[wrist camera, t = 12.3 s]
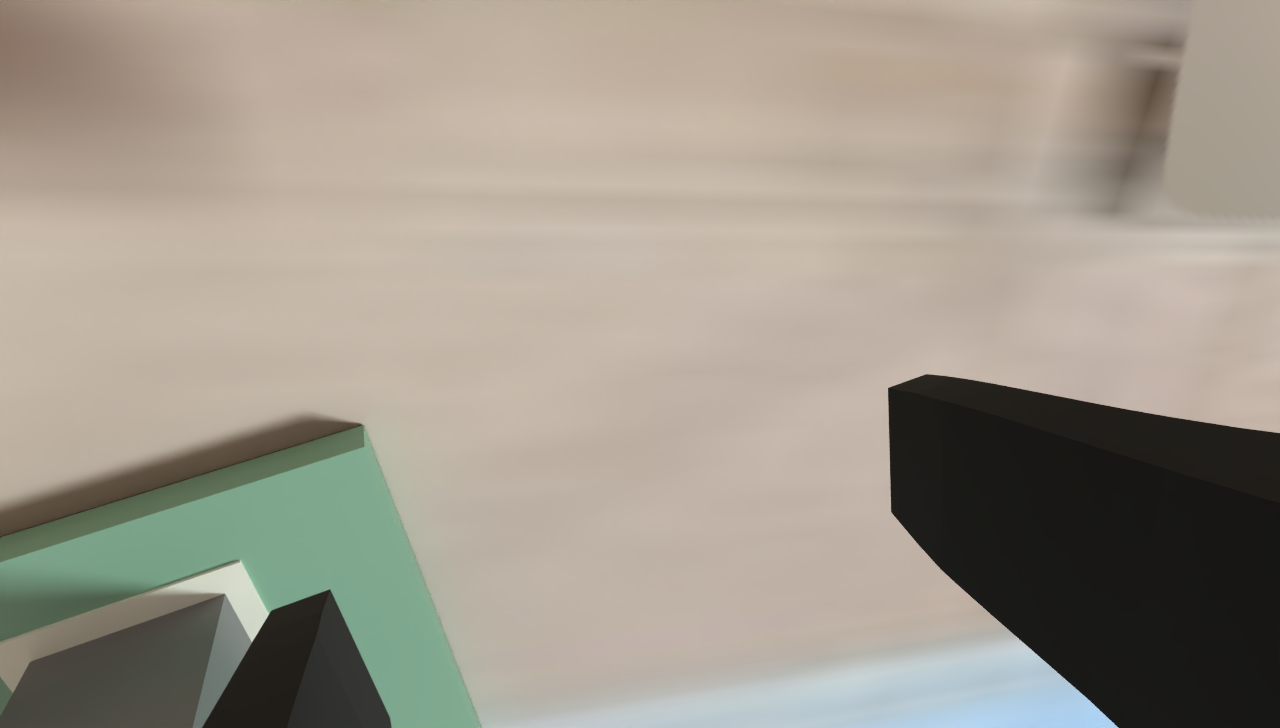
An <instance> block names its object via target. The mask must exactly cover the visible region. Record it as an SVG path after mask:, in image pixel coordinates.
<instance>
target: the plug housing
mask: <svg viewBox="0 0 1280 728" xmlns="http://www.w3.org/2000/svg"><path fill="white" fill-rule="evenodd" d="M251 643H252V642H251V640H250V638H249V636H248V634H247V633H246V631H245V629H244V627H243V625H242V623H241V622H240V620H239V618H238V616H237V614H236V612H235V611H234V609H233V607H232V605H231V603H230V602H229V600H228V598H227V596H226V594H223V595H220V596H217V597H214V598H211V599H209V600H206V601H203V602H200V603H197V604H194V605H191V606H188V607H186V608H183V609H180V610H177V611H174V612H171V613H168V614H166V615H163V616H160V617H157V618H154V619H151V620H148V621H146V622H143V623H140V624H137V625H134V626H131V627H128V628H125V629H123V630H120V631H117V632H114V633H111V634H108V635H105V636H103V637H100V638H97V639H94V640H91V641H88V642H85V643H83V644H80V645H77V646H74V647H71V648H68V649H65V650H62V651H60V652H57V653H54V654H51V655H48V656H45V657H42V658H40V659H37V660H34V661H31V662H30V663H29V665H28V666H27V668H26V670H25V672H24V674H23V676H22V677H21V679H20V681H19V683H18V685H17V687H16V688H15V690H14V692H13V694H12V696H11V698H10V699H9V701H8V703H7V705H6V707H5V709H4V710H3V712H2V714H1V716H0V728H202V727H203V725H204V723H205V722H206V720H207V718H208V717H209V715H210V713H211V711H212V710H213V708H214V706H215V705H216V703H217V701H218V700H219V698H220V696H221V694H222V693H223V691H224V689H225V688H226V686H227V684H228V683H229V681H230V679H231V677H232V676H233V674H234V672H235V671H236V669H237V667H238V665H239V664H240V662H241V660H242V659H243V657H244V655H245V653H246V652H247V650H248V648H249V647H250V645H251Z"/></svg>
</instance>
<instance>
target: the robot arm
mask: <svg viewBox="0 0 1280 728" xmlns="http://www.w3.org/2000/svg"><path fill="white" fill-rule="evenodd" d="M888 401H889V439H890V478H891V512H892V514H893V515H894V516H895V517H896V518H897V519H898V521H899V522H900V523H901V524H902V525H903V527H904V528H905V529H906V530H907V531H908V533H909V534H910V535H911V536H912V537H913V539H914V540H915V541H916V542H917V543H918V544H919V546H920V547H921V548H922V549H923V550H924V551H925V552H926V553H927V554H928V555H929V557H930V558H931V559H932V560H933V561H934V562H935V563H936V564H937V565H938V566H939V568H940V569H941V570H942V571H943V572H945V573H946V574H947V575H948V576H949V577H950V578H951V579H952V580H953V581H954V582H955V583H957V584H958V585H959V586H960V587H961V588H962V589H963V590H964V591H965V592H967V593H968V594H969V595H970V596H971V597H972V598H973V599H974V600H976V601H977V602H978V603H979V604H980V605H981V606H982V607H983V608H985V609H986V610H987V611H988V612H989V613H990V614H991V615H992V616H994V617H995V618H996V619H997V620H998V621H999V622H1001V623H1002V624H1003V625H1004V626H1005V627H1006V628H1007V629H1009V630H1010V631H1011V632H1012V633H1013V634H1014V635H1015V636H1017V637H1018V638H1019V639H1020V640H1021V641H1022V642H1023V643H1025V644H1026V645H1027V646H1028V647H1029V648H1030V649H1031V650H1033V651H1034V652H1035V653H1036V654H1037V655H1038V656H1040V657H1041V658H1042V659H1043V660H1044V661H1045V662H1046V663H1048V664H1049V665H1050V666H1051V667H1052V668H1053V669H1054V670H1056V671H1057V672H1058V673H1059V674H1060V675H1061V676H1062V677H1064V678H1065V679H1066V680H1067V681H1068V682H1069V683H1070V684H1072V685H1073V686H1074V687H1075V688H1076V689H1077V690H1078V691H1080V692H1081V693H1082V694H1083V695H1084V696H1085V697H1086V698H1088V699H1089V700H1090V701H1091V702H1092V703H1093V704H1094V705H1095V706H1096V707H1097V708H1098V709H1099V710H1100V711H1101V712H1103V713H1104V714H1105V715H1106V716H1107V717H1108V718H1109V719H1110V720H1111V721H1112V722H1113V723H1114V724H1115V725H1116V726H1117V727H1118V728H1280V433H1274V432H1266V431H1258V430H1251V429H1243V428H1236V427H1230V426H1223V425H1217V424H1211V423H1204V422H1198V421H1191V420H1185V419H1179V418H1172V417H1166V416H1160V415H1155V414H1149V413H1143V412H1138V411H1132V410H1127V409H1121V408H1116V407H1110V406H1105V405H1100V404H1095V403H1089V402H1084V401H1079V400H1074V399H1069V398H1064V397H1059V396H1053V395H1048V394H1043V393H1038V392H1033V391H1028V390H1023V389H1018V388H1012V387H1007V386H1002V385H997V384H991V383H985V382H980V381H974V380H968V379H961V378H955V377H947V376H938V375H927V374H926V375H923V376H920V377H918V378H915V379H912V380H909V381H907V382H904V383H901V384H898V385H895V386H893V387H890V388H888ZM202 728H392V727H391V720H390V717H389V714H388V712H387V710H386V708H385V706H384V704H383V702H382V699H381V697H380V695H379V693H378V691H377V689H376V686H375V684H374V682H373V680H372V678H371V676H370V674H369V671H368V669H367V667H366V665H365V663H364V661H363V659H362V656H361V654H360V652H359V650H358V648H357V646H356V643H355V641H354V639H353V637H352V635H351V633H350V631H349V628H348V626H347V624H346V622H345V620H344V618H343V616H342V613H341V611H340V609H339V607H338V605H337V603H336V601H335V598H334V596H333V594H332V592H331V590H330V589H329V590H326V591H324V592H321V593H318V594H315V595H312V596H310V597H307V598H304V599H301V600H299V601H296V602H293V603H290V604H288V605H285V606H282V607H279V608H276V609H274V610H271V612H270V614H269V615H268V617H267V619H266V620H265V622H264V623H263V625H262V627H261V628H260V630H259V632H258V633H257V635H256V637H255V638H254V640H253V642H252V643H251V645H250V647H249V648H248V650H247V652H246V653H245V655H244V657H243V659H242V660H241V662H240V664H239V665H238V667H237V669H236V671H235V672H234V674H233V676H232V677H231V679H230V681H229V683H228V684H227V686H226V688H225V689H224V691H223V693H222V694H221V696H220V698H219V700H218V701H217V703H216V705H215V706H214V708H213V710H212V711H211V713H210V715H209V717H208V718H207V720H206V722H205V723H204V725H203V727H202Z"/></svg>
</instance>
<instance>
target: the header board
mask: <svg viewBox="0 0 1280 728" xmlns="http://www.w3.org/2000/svg"><path fill="white" fill-rule="evenodd" d="M329 589H330V590H331V592H332V594H333V596H334V598H335V601H336V603H337V605H338V607H339V609H340V611H341V613H342V616H343V618H344V620H345V622H346V624H347V626H348V628H349V631H350V633H351V635H352V637H353V639H354V641H355V643H356V646H357V648H358V650H359V652H360V654H361V656H362V659H363V661H364V663H365V665H366V667H367V669H368V671H369V674H370V676H371V678H372V680H373V682H374V684H375V686H376V689H377V691H378V693H379V695H380V697H381V699H382V702H383V704H384V706H385V708H386V710H387V712H388V714H389V717H390V720H391V727H392V728H482V727H481V725H480V722H479V720H478V717H477V715H476V712H475V710H474V707H473V704H472V702H471V699H470V697H469V694H468V692H467V689H466V686H465V684H464V681H463V679H462V676H461V674H460V671H459V668H458V666H457V663H456V661H455V658H454V656H453V653H452V650H451V648H450V645H449V643H448V640H447V638H446V635H445V632H444V630H443V627H442V625H441V622H440V620H439V617H438V614H437V612H436V609H435V607H434V604H433V602H432V599H431V596H430V594H429V591H428V589H427V586H426V584H425V581H424V578H423V576H422V573H421V571H420V568H419V566H418V563H417V561H416V558H415V555H414V553H413V550H412V548H411V545H410V543H409V540H408V537H407V535H406V532H405V530H404V527H403V525H402V522H401V519H400V517H399V514H398V512H397V509H396V507H395V504H394V501H393V499H392V496H391V494H390V491H389V489H388V486H387V483H386V481H385V478H384V476H383V473H382V471H381V468H380V465H379V463H378V460H377V458H376V455H375V453H374V450H373V447H372V445H371V442H370V440H369V437H368V435H367V432H366V430H365V427H364V425H362V426H358V427H355V428H352V429H349V430H346V431H342V432H339V433H336V434H333V435H329V436H326V437H323V438H320V439H316V440H313V441H310V442H307V443H304V444H300V445H297V446H294V447H291V448H287V449H284V450H281V451H278V452H274V453H271V454H268V455H265V456H262V457H258V458H255V459H252V460H249V461H245V462H242V463H239V464H236V465H232V466H229V467H226V468H223V469H220V470H216V471H213V472H210V473H207V474H203V475H200V476H197V477H194V478H190V479H187V480H184V481H181V482H178V483H174V484H171V485H168V486H165V487H161V488H158V489H155V490H152V491H148V492H145V493H142V494H139V495H136V496H132V497H129V498H126V499H123V500H119V501H116V502H113V503H110V504H106V505H103V506H100V507H97V508H94V509H90V510H87V511H84V512H81V513H77V514H74V515H71V516H68V517H64V518H61V519H58V520H55V521H51V522H48V523H45V524H42V525H39V526H35V527H32V528H29V529H26V530H22V531H19V532H16V533H13V534H9V535H6V536H3V537H0V716H1V714H2V712H3V710H4V709H5V707H6V705H7V703H8V701H9V699H10V698H11V696H12V694H13V692H14V690H15V688H16V687H17V685H18V683H19V681H20V679H21V677H22V676H23V674H24V672H25V670H26V668H27V666H28V665H29V663H30V662H31V661H34V660H37V659H40V658H42V657H45V656H48V655H51V654H54V653H57V652H60V651H62V650H65V649H68V648H71V647H74V646H77V645H80V644H83V643H85V642H88V641H91V640H94V639H97V638H100V637H103V636H105V635H108V634H111V633H114V632H117V631H120V630H123V629H125V628H128V627H131V626H134V625H137V624H140V623H143V622H146V621H148V620H151V619H154V618H157V617H160V616H163V615H166V614H168V613H171V612H174V611H177V610H180V609H183V608H186V607H188V606H191V605H194V604H197V603H200V602H203V601H206V600H209V599H211V598H214V597H217V596H220V595H223V594H226V596H227V598H228V600H229V602H230V603H231V605H232V607H233V609H234V611H235V612H236V614H237V616H238V618H239V620H240V622H241V623H242V625H243V627H244V629H245V631H246V633H247V634H248V636H249V638H250V640H251V642H253V640H254V638H255V637H256V635H257V633H258V632H259V630H260V628H261V627H262V625H263V623H264V622H265V620H266V619H267V617H268V615H269V614H270V612H271V610H274V609H276V608H279V607H282V606H285V605H288V604H290V603H293V602H296V601H299V600H301V599H304V598H307V597H310V596H312V595H315V594H318V593H321V592H324V591H326V590H329Z"/></svg>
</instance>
